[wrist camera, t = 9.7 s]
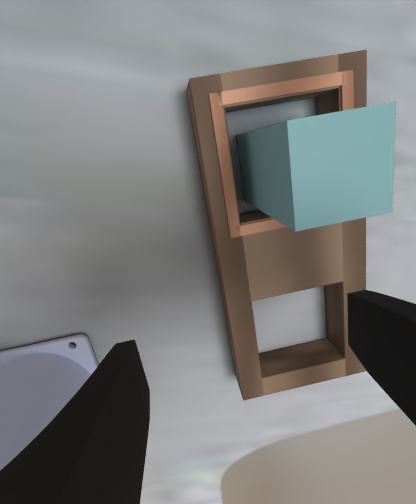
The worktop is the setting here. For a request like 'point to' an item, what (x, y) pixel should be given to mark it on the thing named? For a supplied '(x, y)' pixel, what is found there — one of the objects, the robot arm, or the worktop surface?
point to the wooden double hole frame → (278, 225)
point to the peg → (322, 167)
